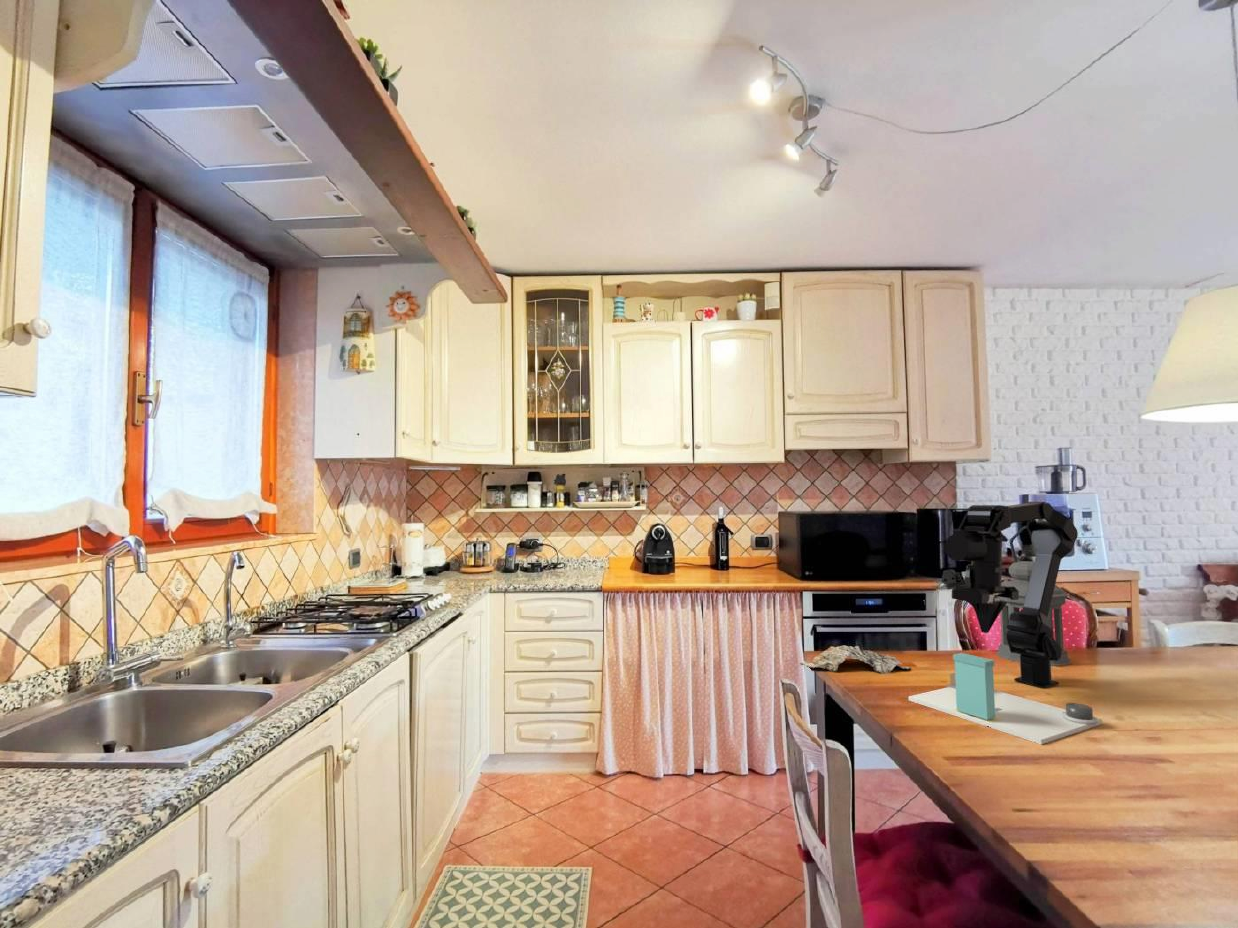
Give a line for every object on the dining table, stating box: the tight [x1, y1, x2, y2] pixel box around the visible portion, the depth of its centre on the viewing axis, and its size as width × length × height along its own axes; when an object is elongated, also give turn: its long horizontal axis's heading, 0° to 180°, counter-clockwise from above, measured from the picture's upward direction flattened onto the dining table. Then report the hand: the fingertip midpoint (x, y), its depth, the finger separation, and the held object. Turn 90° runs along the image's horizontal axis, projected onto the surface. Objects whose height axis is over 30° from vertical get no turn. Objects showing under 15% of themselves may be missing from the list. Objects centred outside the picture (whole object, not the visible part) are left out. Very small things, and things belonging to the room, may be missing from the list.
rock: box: [799, 645, 911, 675], centre depth 154 cm, size 27×15×5 cm, turn 88°
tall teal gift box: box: [952, 652, 995, 720], centre depth 116 cm, size 3×6×11 cm, turn 27°
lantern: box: [996, 525, 1071, 667], centre depth 160 cm, size 17×17×35 cm
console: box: [908, 672, 1103, 745], centre depth 120 cm, size 20×27×4 cm
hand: (984, 632), depth 132 cm, fingers closed
